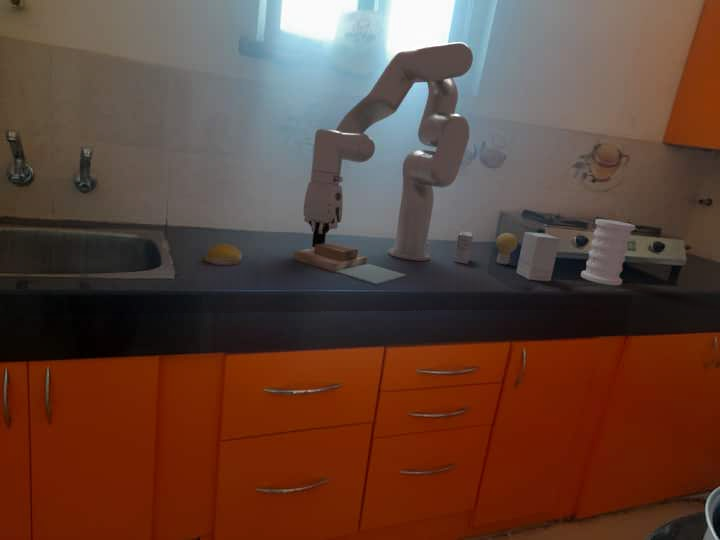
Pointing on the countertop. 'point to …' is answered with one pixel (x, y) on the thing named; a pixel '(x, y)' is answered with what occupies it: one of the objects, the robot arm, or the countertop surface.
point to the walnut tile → (336, 251)
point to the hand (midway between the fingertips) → (318, 246)
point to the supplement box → (537, 256)
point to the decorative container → (608, 252)
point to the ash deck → (326, 260)
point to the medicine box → (463, 247)
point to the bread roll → (223, 255)
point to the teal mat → (371, 273)
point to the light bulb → (505, 247)
